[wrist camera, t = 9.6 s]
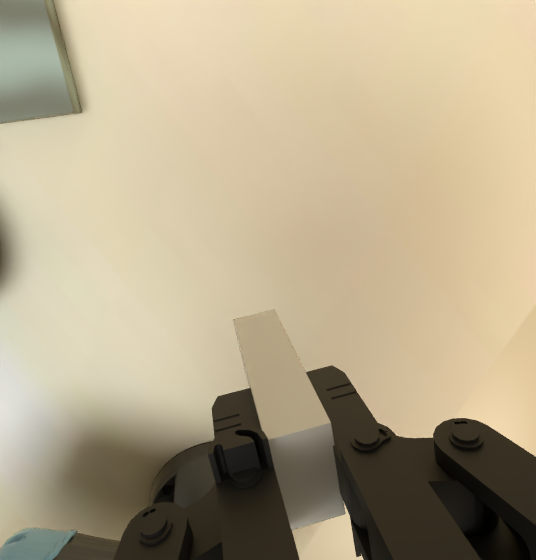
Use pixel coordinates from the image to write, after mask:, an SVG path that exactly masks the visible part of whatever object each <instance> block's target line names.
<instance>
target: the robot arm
mask: <svg viewBox="0 0 536 560" xmlns="http://www.w3.org/2000/svg"><path fill="white" fill-rule="evenodd" d="M233 321H234V325H235V329H236V334H237V338H238V343H239V347H240V351H241V356H242V360H243V364H244V369H245V373H246V377H247V382H248V386H249V388H248V389H245V390H241V391H237V392H233V393H229V394H225V395H222V396H218V397H217V399H216V401H215V403H214V405H213V407H212V416H213V426H214V435H215V439H214V440H213V442H211V443H205V444H201V445H198V446H195V447H192V448H190V449H188V450H186V451H184V452H182V453H180V454H179V455H177V456H176V457H174V458H173V459H172V460H170V461H169V462H168V463H167V464H166V465H165V466H164V467H163V468H162V470H161V471H160V472H159V474H158V475H157V477H156V479H155V481H154V484H153V486H152V490H151V498H150V506H149V507H148V508H146V509H144V510H142V511H140V512H139V513H138V514H137V515H136V516H135V517H134V518H133V519H132V520H131V521H130V523H129V524H128V526H127V528H126V529H125V531H124V533H123V536H122V538H121V541H116V540H110V539H104V538H99V537H94V536H89V535H84V534H79V533H77V531H75V530H70V531H69V532H67V531H58V530H49V529H40V528H27V529H23V530H21V531H19V532H17V533H15V534H14V535H12V536H11V537H10V538H9V539H8V540H7V541H6V542H5V543H4V544H3V546H2V547H1V548H0V560H299V556H298V553H297V549H296V545H295V542H294V538H293V534H292V531H291V530H293V529H297V528H300V527H304V526H307V525H310V524H314V523H317V522H320V521H324V520H327V519H330V518H334V517H337V516H340V515H344V514H345V508H344V503H345V505H346V508H347V510H348V512H349V515H350V519H351V525H352V532H353V538H354V545H355V551H356V556H357V557H359V556H361V554H362V556H363V559H364V560H536V457H535V456H534V455H532V454H530V453H529V452H527V451H526V450H524V449H523V448H521V447H520V446H518V445H517V444H515V443H514V442H512V441H511V440H509V439H507V438H506V437H504V436H503V435H501V434H500V433H498V432H497V431H495V430H494V429H492V428H490V427H489V426H487V425H485V424H483V423H481V422H479V421H476V420H471V419H466V418H457V419H450V420H447V421H444V422H442V423H441V424H440V425H438V426H437V427H436V429H435V432H434V434H433V438H404V437H399V436H396V435H395V433H394V432H392V431H391V430H390V429H389V428H388V427H386V426H384V425H381V424H379V423H377V421H376V420H375V418H374V417H373V415H372V414H371V412H370V411H369V409H368V408H367V406H366V405H365V403H364V402H363V400H362V399H361V397H360V396H359V394H358V393H357V391H356V389H355V388H354V386H353V385H352V384H351V382H350V380H349V379H348V377H347V376H346V374H345V373H344V372H343V371H341V370H339V369H337V368H336V367H334V366H328V367H324V368H321V369H317V370H313V371H309V372H305V370H304V368H303V366H302V364H301V362H300V360H299V358H298V356H297V354H296V352H295V350H294V348H293V346H292V344H291V342H290V340H289V338H288V336H287V334H286V332H285V330H284V328H283V326H282V324H281V322H280V320H279V318H278V316H277V314H276V312H275V310H271V311H266V312H262V313H258V314H254V315H250V316H246V317H242V318H238V319H233ZM343 501H344V502H343Z"/></svg>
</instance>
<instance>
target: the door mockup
mask: <svg viewBox="0 0 536 560" xmlns="http://www.w3.org/2000/svg"><path fill="white" fill-rule="evenodd" d="M77 113H82V111H81V107H80V103H79V99H78V96H77V92H76V88H75V84H74V80H73V76H72V72H71V69H70V65H69V61H68V57H67V53H66V49H65V46H64V42H63V38H62V34H61V30H60V26H59V22H58V19H57V15H56V11H55V7H54V3H53V0H0V124H1V123H9V122H17V121H24V120H32V119H39V118H47V117H54V116H62V115H69V114H77Z"/></svg>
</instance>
